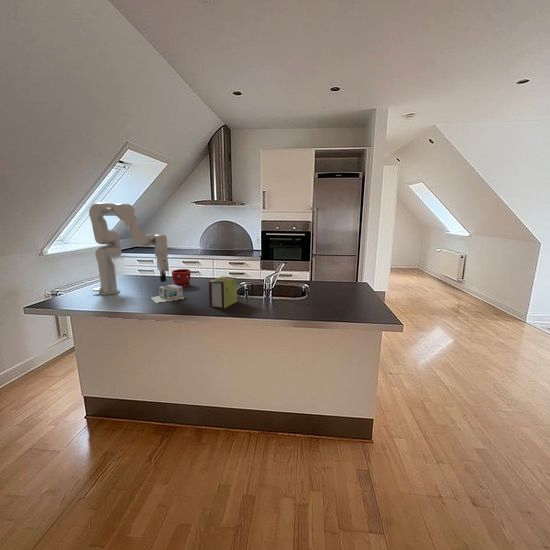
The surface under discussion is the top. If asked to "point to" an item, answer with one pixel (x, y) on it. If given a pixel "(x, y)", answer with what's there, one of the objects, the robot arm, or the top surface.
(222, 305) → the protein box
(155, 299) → the pale green mat
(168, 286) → the light bulb box
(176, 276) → the plant pot
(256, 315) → the top surface
